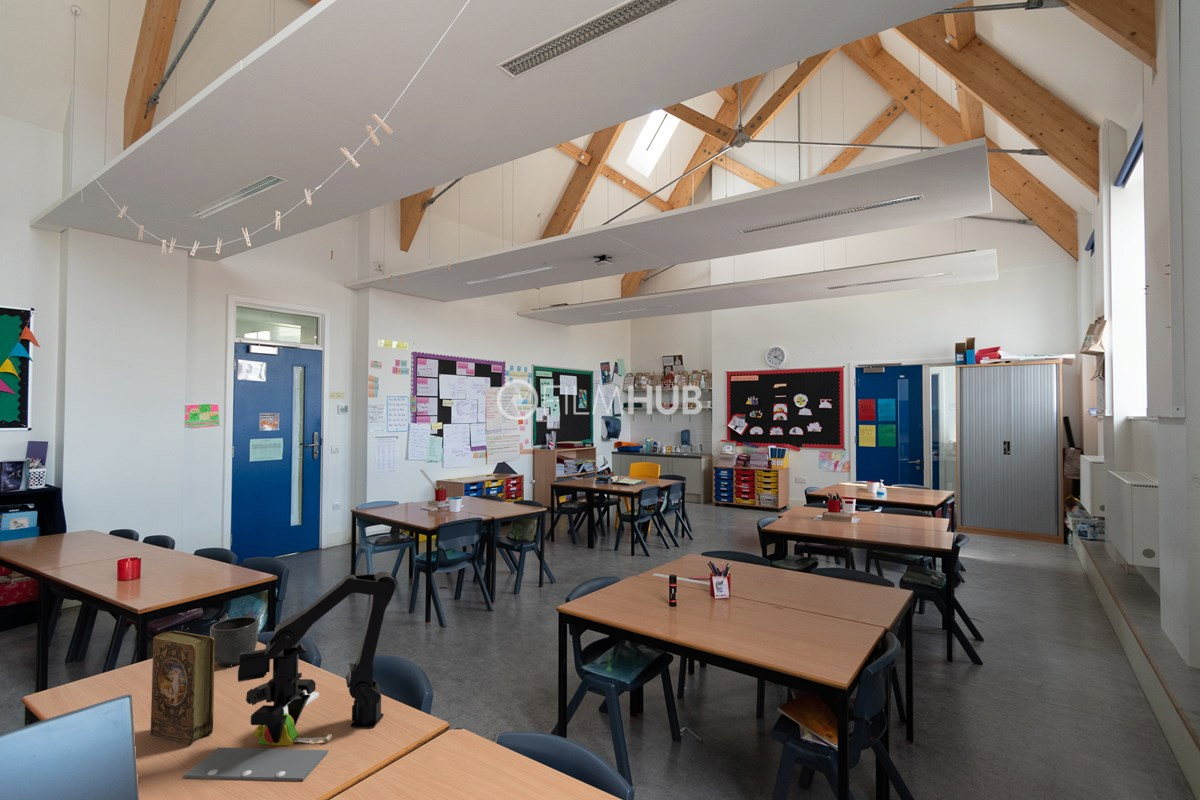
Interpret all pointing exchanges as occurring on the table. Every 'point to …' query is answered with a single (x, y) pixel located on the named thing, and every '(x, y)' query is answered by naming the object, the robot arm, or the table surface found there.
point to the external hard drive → (312, 697)
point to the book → (182, 686)
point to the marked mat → (258, 764)
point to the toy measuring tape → (285, 734)
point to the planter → (234, 638)
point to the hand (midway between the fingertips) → (284, 735)
